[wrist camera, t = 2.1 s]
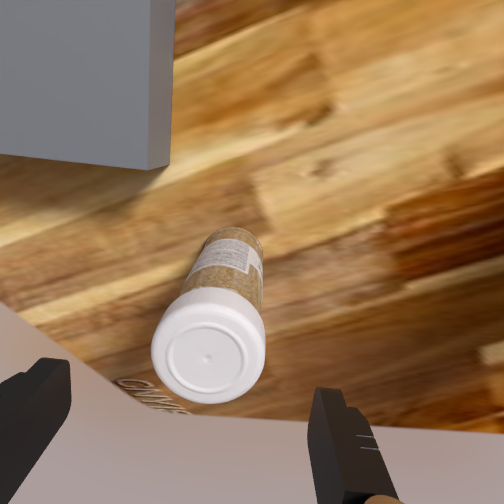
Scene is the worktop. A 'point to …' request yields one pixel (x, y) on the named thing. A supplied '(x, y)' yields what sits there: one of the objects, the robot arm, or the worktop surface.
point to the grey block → (87, 80)
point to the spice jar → (215, 323)
